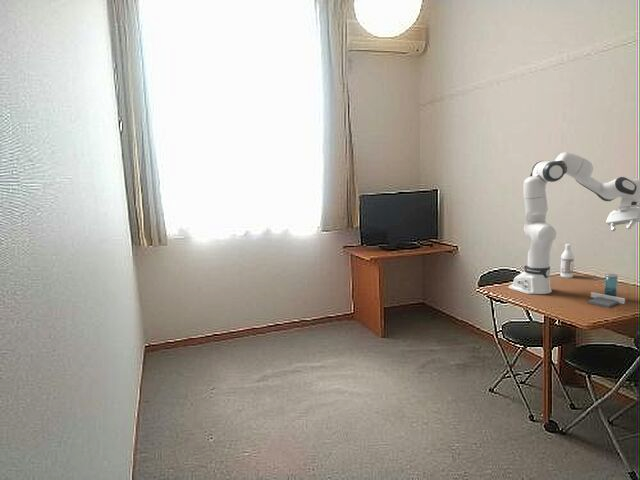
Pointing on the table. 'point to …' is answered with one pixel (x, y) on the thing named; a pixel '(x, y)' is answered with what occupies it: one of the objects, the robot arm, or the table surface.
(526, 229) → the robot arm
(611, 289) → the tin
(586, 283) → the table surface
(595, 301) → the coaster
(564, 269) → the bath foam
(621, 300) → the wall
